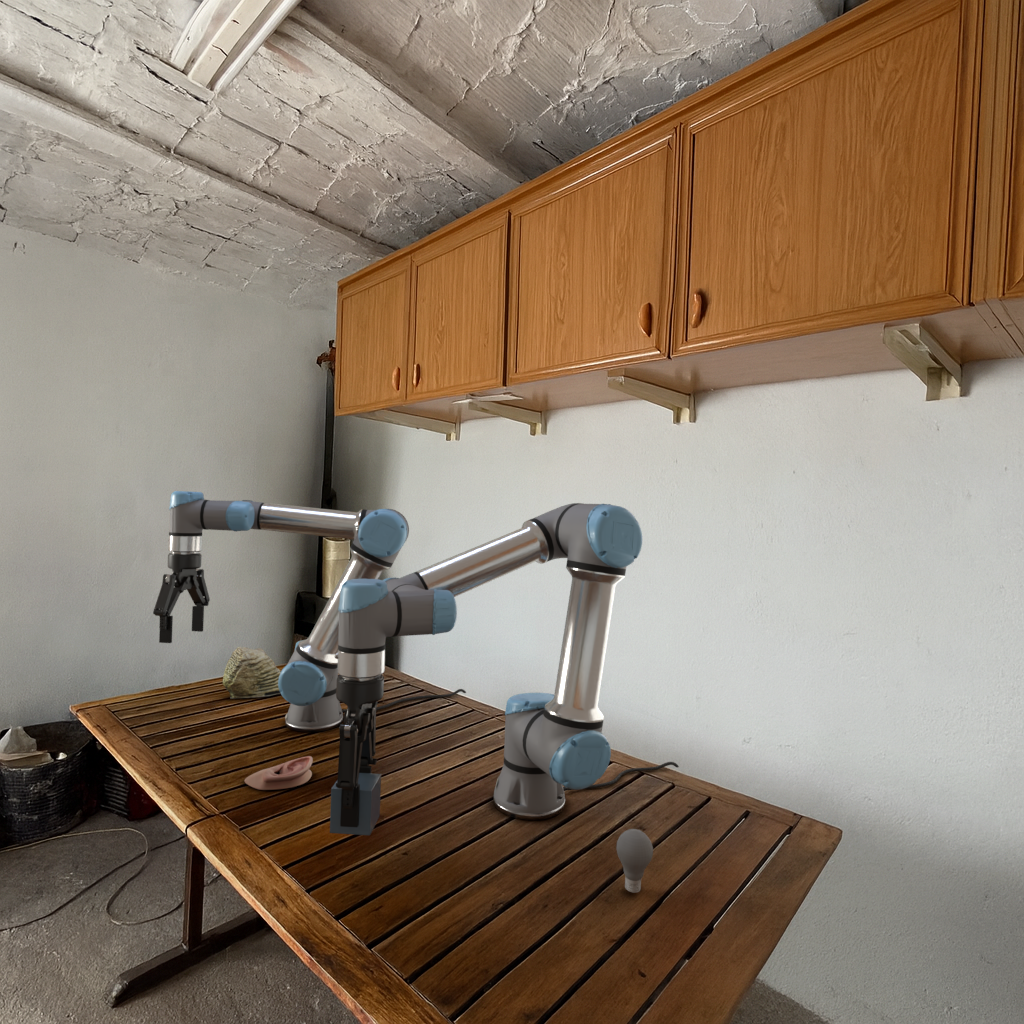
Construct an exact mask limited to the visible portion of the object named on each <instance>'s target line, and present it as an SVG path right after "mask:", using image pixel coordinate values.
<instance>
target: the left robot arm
mask: <svg viewBox="0 0 1024 1024" xmlns="http://www.w3.org/2000/svg"><path fill="white" fill-rule="evenodd" d="M168 513H169V514H168V540H167V541H168V548H167V549H168V551H169V553H168V554H167V568H168V569H170V570H171V574H168V573H164V574H163V575H162V582H161V586H160V589H159V593H158V596H157V597H156V598H157V599H156V601H155V605H154V607H153V612H152V613H153V615H154V616H155V617H156V616H157V617H159V625H158V626H159V634H158V635H159V637H158V643H159V644H172V643H173V622H174V621H173V620H174V616H173V615H171V614H172V612H173V610H174V608H175V606H176V604H177V602H178V600H179V597H180V595H181V594H182V593H184V592H185V591H187V593H188V595H189V597H190V599H191V600H192V602H193V605H192V608H191V609H192V610H191V611H192V612H191V632H200V633H202V632H204V621H205V620H204V618H205V607H208V606H209V603H210V601H211V599H210V595H209V591H208V586H207V583H206V580H205V569H203V568H201V567H202V557H203V555H202V553H200V552H202V551H203V530H208V531H209V530H211V531H212V530H213V531H229V532H230V531H231V532H232V531H233V532H247V531H250V530H256V531H257V530H258V531H260V530H261V531H271V532H278V533H290V534H299V535H308V536H316V537H317V536H318V537H326V538H336V539H337V538H339V539H348V540H353V541H352V543H351V545H350V547H349V551H350V553H351V558H350V560H349V562H348V563H347V565H346V567H345V569H344V571H343V572H342V574H341V576H340V578H339V579H338V581H337V583H336V585H335V588H334V589H333V591H332V593H331V595H330V597H329V599H328V600H327V602H326V604H325V606H324V608H323V610H322V612H321V614H320V615H319V617H318V619H317V621H316V623H315V625H314V627H313V629H312V630H311V633H310V634H309V636H308V637H307V639H303V640H302V639H301V640H298V641H297V642H296V643H295V648H294V650H293V653H292V655H291V657H290V658H289V660H288V662H287V663H286V665H285V666H284V667H283V668H282V669H281V670H280V672H281V673H280V676H279V680H278V687H279V691H280V695H281V696H282V698H283V699H284V701H286V702H288V703H289V708H288V711H287V713H286V714H285V716H284V719H285V726H286V728H287V729H289V730H291V731H294V732H295V731H296V732H301V733H316V732H325V731H329V730H332V729H335V728H337V727H340V724H343V723H344V714H343V713H345V712H347V708H342V706H341V702H340V701H338V700H337V698H336V687H337V678H338V676H339V674H338V672H337V667H338V659H336V658H335V654H336V653H338V640H339V611H338V608H339V602H340V592H341V586H342V584H343V583H344V582H346V581H348V580H352V579H378V580H379V579H380V576H381V575H382V572H384V571H386V570H390V569H391V568H392V566H393V564H394V563H395V561H396V559H397V557H398V555H399V553H400V551H401V550H402V548H403V547H404V546H405V543H406V542H407V540H408V538H409V533H410V526H409V523H408V521H407V519H406V517H405V515H403V514H402V513H401V512H399V511H398V510H395V509H392V508H378V509H365V508H361V509H360V510H358V511H349V510H339V509H329V508H319V507H311V506H310V507H309V506H301V505H291V504H281V503H271V502H260V501H253V500H249V499H242V500H213V499H212V500H210V499H205V497H204V493H203V492H202V491H189V490H187V491H186V490H174V491H173V492H172V493H171V494H170V500H169V507H168ZM458 693H462V694H467V691H466V690H465V689H463V688H458V689H457V690H455V691H453V692H451V693H447V694H427V695H419V696H418V695H417V696H410V697H405V698H401V699H396V700H394V701H392V702H389V703H387V704H384V705H380V706H377V707H376V711H380V710H383V709H386V708H390V707H392V706H394V705H397V704H400V703H403V702H408V701H409V702H410V701H415V700H423V699H439V698H450V697H453V696H455V695H458Z"/></svg>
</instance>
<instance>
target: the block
mask: <svg viewBox="0 0 1024 1024" xmlns="http://www.w3.org/2000/svg"><path fill="white" fill-rule="evenodd" d="M336 783H337V780H336V781H335V782H334V784H333V785H332V786H331V789H330V812H329V813H330V814H329V815H330V816H329V834H340V835H355V836H371V834H372V833H373V831H374V828H375V826H376V824H377V823H378V820H379V818H380V816H381V792H382V791H381V790H382V773H372V772H371V773H359V778H358V784H360V798H359V825H358V827H342V826H340V822H341V793H342V788H337V787H336Z"/></svg>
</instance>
